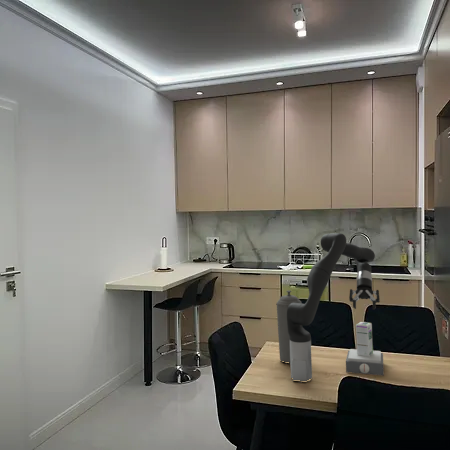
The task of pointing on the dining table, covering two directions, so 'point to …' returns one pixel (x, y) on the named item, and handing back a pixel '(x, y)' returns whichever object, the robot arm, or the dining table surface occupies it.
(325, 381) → the dining table surface
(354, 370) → the kitchen scale
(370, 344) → the syrup box
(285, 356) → the canister
